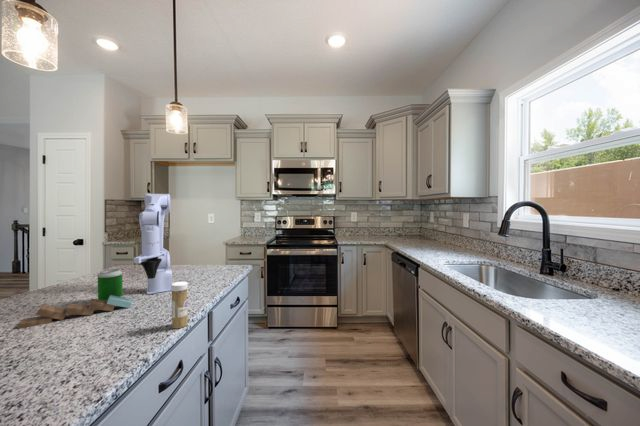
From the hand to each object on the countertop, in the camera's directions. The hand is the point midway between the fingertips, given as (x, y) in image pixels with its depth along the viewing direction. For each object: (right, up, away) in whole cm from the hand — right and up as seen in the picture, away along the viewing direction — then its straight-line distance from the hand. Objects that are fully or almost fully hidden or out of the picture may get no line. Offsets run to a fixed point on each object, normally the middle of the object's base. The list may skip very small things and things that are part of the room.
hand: (151, 278), depth 99 cm
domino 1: (-23, -10, -14) cm, 29 cm away
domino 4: (-10, -9, -5) cm, 15 cm away
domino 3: (-15, -9, -8) cm, 19 cm away
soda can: (-18, -10, +3) cm, 21 cm away
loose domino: (-7, -9, -2) cm, 11 cm away
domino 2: (-21, -9, -12) cm, 26 cm away
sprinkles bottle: (+21, -11, -18) cm, 29 cm away
